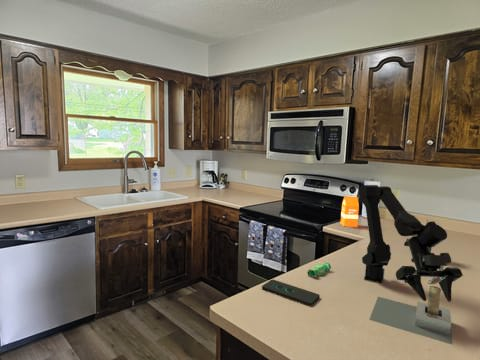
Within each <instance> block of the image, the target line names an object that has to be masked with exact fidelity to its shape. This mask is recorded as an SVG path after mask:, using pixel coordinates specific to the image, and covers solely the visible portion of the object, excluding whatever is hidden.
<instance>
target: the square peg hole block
mask: <svg viewBox="0 0 480 360" xmlns="http://www.w3.org/2000/svg"><path fill="white" fill-rule="evenodd" d="M416 307H417V311H416V320H415V326H418V327H421V328H425V329H428V330H432V331H435V332H439V333H442V334H446V335H449V336H450V329H451V330H452V318H451V317H452V316H451V309H449V308H446V307H441V306H439V315H438V316H436V315H433V314H429V313H427V310H428V302H422V301H419V300H418V301H417V302H416Z"/></svg>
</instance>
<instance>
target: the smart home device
mask: <svg viewBox="0 0 480 360" xmlns="http://www.w3.org/2000/svg"><path fill="white" fill-rule="evenodd" d="M261 290H263V291H266V292H269V293H272V294H274V295H277V296H280V297H283V298H286V299H289V300H291V301H294V302H296V301H297V302H296V303H299V302H300V304H302V303H303V305H306V306H309V307H312V306H313V305H314V304H315V303H316V302H317V301H318V300H319V299H320V294H319V293H316V292H314V291H310V290H307V289H305V288H304V289H303V288H300V287H298V286H294V285H291V284H288V283H286V282H282V281H279V280H276V279H274V278H273V279H272V278H271V280H269V281H267V282H265V283H264V284H262V285H261Z"/></svg>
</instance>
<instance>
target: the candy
mask: <svg viewBox="0 0 480 360" xmlns="http://www.w3.org/2000/svg"><path fill="white" fill-rule="evenodd" d="M331 269H332V266H331V263H330V262H329V263H328V262H324V263H323V264H318V265H315V266H314V267H313V269H308V271H307V276H308V277H312V278H315V277H316V276H321V275H323V274H325V273H326V271H327V272H329V271H330V270H331Z"/></svg>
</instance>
